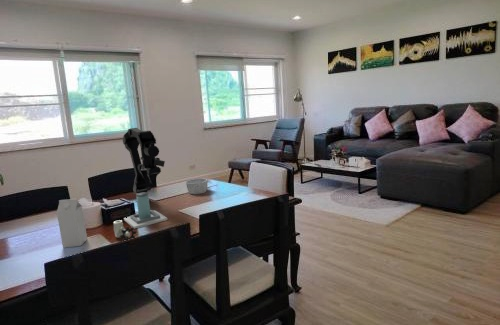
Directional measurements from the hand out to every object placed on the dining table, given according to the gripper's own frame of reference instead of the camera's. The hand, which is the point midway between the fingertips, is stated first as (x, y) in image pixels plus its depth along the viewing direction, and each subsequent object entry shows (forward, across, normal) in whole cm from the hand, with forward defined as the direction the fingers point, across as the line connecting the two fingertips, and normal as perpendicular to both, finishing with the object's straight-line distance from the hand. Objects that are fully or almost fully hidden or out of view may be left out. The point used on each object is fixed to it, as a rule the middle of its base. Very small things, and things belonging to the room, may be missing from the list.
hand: (150, 184), depth 185 cm
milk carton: (+13, -23, +42) cm, 50 cm away
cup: (+12, -16, +10) cm, 22 cm away
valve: (+13, -32, +25) cm, 42 cm away
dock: (+13, -16, +10) cm, 23 cm away
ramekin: (+13, +11, -32) cm, 36 cm away
